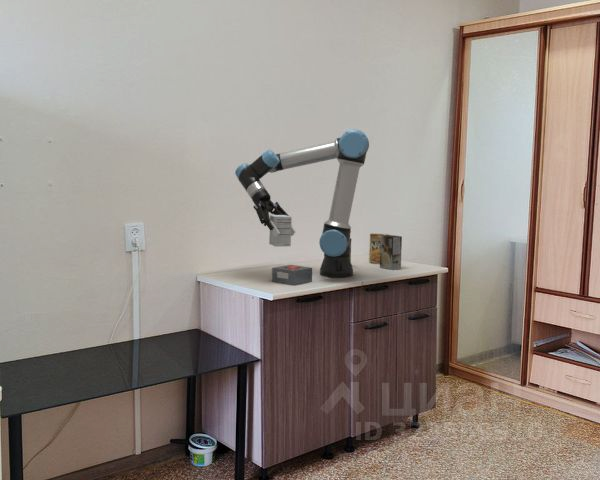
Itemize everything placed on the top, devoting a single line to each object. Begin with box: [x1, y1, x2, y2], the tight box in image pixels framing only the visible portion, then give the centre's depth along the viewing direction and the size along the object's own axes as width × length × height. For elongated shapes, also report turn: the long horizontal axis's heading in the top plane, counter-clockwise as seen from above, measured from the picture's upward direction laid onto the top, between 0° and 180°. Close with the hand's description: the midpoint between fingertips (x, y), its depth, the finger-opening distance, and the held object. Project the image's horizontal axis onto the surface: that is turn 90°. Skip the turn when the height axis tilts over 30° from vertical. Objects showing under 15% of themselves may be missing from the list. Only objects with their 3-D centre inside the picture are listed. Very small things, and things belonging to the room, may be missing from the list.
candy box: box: [368, 232, 390, 264], centre depth 315 cm, size 9×4×15 cm, turn 62°
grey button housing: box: [271, 264, 313, 286], centre depth 258 cm, size 12×12×6 cm
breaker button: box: [287, 265, 299, 269], centre depth 258 cm, size 4×4×5 cm
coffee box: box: [379, 234, 403, 271], centre depth 299 cm, size 9×6×16 cm
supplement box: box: [268, 214, 293, 248], centre depth 257 cm, size 7×7×13 cm
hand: (285, 234), depth 255 cm, fingers closed on supplement box, 10 cm apart
